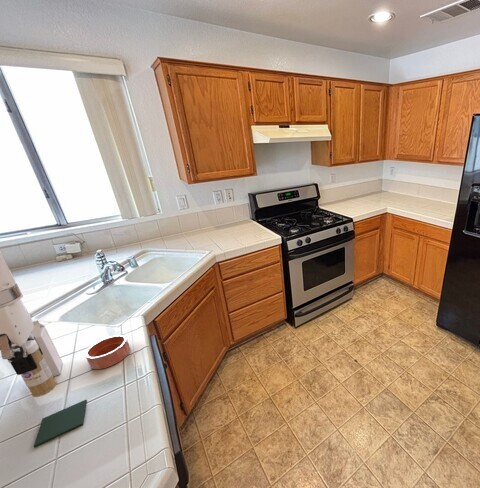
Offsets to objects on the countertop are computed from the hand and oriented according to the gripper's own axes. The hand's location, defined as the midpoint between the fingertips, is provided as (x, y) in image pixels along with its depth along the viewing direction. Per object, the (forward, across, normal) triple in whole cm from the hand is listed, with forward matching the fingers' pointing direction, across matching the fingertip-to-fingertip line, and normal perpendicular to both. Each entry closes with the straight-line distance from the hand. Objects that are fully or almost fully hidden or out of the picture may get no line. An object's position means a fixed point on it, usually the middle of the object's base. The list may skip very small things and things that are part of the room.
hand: (30, 363), depth 62 cm
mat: (+20, 0, 0) cm, 20 cm away
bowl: (+20, -22, +10) cm, 31 cm away
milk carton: (+20, -27, -8) cm, 34 cm away
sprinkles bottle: (+8, 0, 0) cm, 8 cm away
